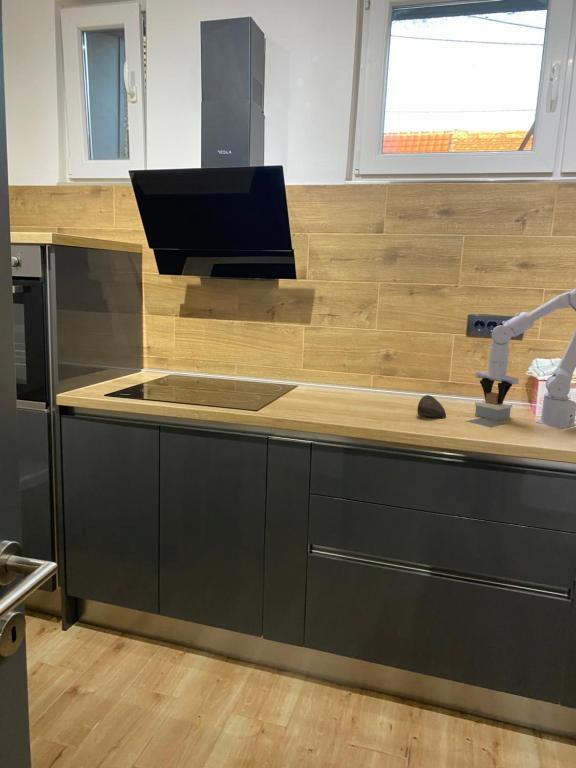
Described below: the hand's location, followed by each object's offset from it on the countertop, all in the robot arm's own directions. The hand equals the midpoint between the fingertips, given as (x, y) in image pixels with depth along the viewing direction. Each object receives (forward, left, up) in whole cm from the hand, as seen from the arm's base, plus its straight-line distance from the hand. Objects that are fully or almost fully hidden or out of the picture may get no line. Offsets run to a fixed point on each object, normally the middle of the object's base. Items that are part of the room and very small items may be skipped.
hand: (493, 402), depth 190 cm
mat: (-3, +10, -5) cm, 11 cm away
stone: (+12, +18, -6) cm, 22 cm away
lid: (0, 0, -1) cm, 1 cm away
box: (0, 0, -5) cm, 5 cm away
